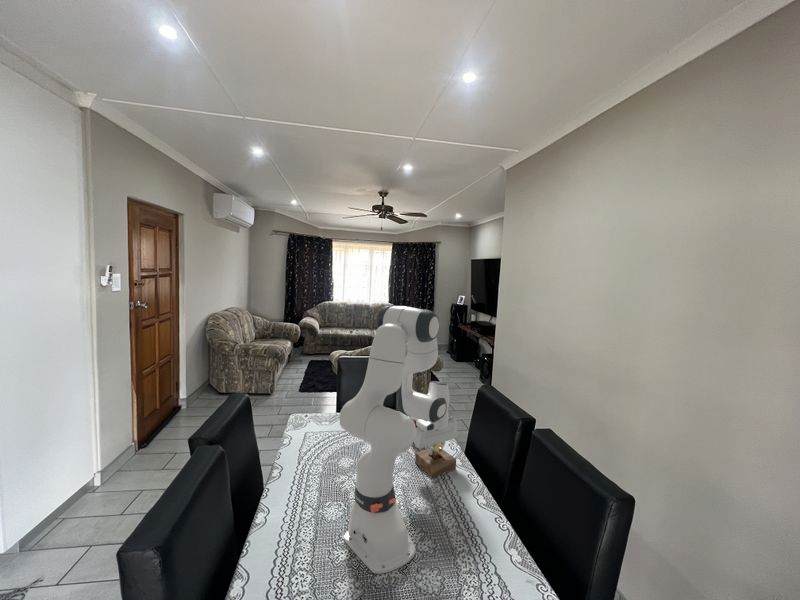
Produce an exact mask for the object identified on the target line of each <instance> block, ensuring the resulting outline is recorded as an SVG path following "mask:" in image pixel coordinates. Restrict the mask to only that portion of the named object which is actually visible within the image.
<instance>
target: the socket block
mask: <svg viewBox="0 0 800 600" xmlns="http://www.w3.org/2000/svg"><path fill="white" fill-rule="evenodd" d="M414 456H415V458H414V460H415V461H414V462H415V463H416V464H417V465H418V466H419V467H420V468H421V469H423V470H424V471H425V473H427V474H428V475H429V476H430V477H431V478H434V477H437V476H440V475H443V474H446V473H448V472H450V471H453V470H456V469H457V458H455V457H454V456H452V455H451V454H450V453H449V452H447V451H446V450H444V449H443V451H442V452H439V459H437V460H434V459H432V455H430V454H429V449H428V448H427V449H424V450H421V451H417V452H415V455H414Z"/></svg>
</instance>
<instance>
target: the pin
mask: <svg viewBox="0 0 800 600" xmlns="http://www.w3.org/2000/svg"><path fill="white" fill-rule="evenodd" d="M431 448H432V449H433V450H434V454H432V459H434V460H437V459H439V449H440V443H438V444H434V445H433V447H431Z"/></svg>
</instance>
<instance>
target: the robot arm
mask: <svg viewBox="0 0 800 600" xmlns="http://www.w3.org/2000/svg"><path fill="white" fill-rule="evenodd" d="M375 325H376V331H375V334H374V337H373V339H372V343H371V347H370V351H369V356H368V362H367V368H366V371H365V377H364V380H363V384H362V386H361V387H360V389H359V391H358V393H357V394H356V395H355V396H353V398H352V399H350V400H348V401H347V402H346V403H345V404H344V405H343V406H342V408H341V409H340V412H339V418H338V419H339V421H338V422H339V425H340V428H341V429H343V430H344V431H345V432H347V433H348V434H349V435H351V436H352V437H354V438H357V439H359V440H362V441H364V442H367V443H368V444H370V450H368V451H366V452H364V453H363V454H361V455H360V457H359V459H357V462H356V483H354V484H355V486H354V490H353V491H354V492H353V493H354V496H353V497H354V501H353V504H352V506H351V509H350V511H349V519H348V530H347V531H346V532H345V534H344V535H343V536H344V538H343V540H344V542H345V543H346V545H347V546H348V547H349V548H350V549H351V550H352V552H354V553H355V555H356V556H357V557H358V558H359V559H360V560H361V562H363V564H364V565H365V566H366V567H367V568H368V570H370V571H371V572H372V573H373V574H385V573H386V574H387V573H390V572H392V571H395V570H397V569H399V568H401V567H403V566H405V565H406V564H407V563H409V562H410V561H411V560H412V559H413V558H414V557H415V555H416V552H417V550H416V546H415V545H414V542H413V540H412V538H411V536H410V534H409V532H408V528H407V526H406V524H408V517H407V515H406V514H402V513H401V510H400V508H401V506H400V503H397V499H398V498H397V497H396V489H395V485H394V481H393V480H394V469H395V462H396V460H397V458H398V456H400V455H401V454H403V453H405V452H406V451H408V450H409V449H410V448H411V447H412V446H413V445H415V446H416V447H417V448H418V449H420V450H421V449H424V448H427V449H429V454H430V455H432V454H434V450H433V449H432V447H433V445H434V444H438V443H440V449H439V452H442V451H443V450H444V446H445V445H446V442H448V441H451V440H455V439H457V437H458V424H457V422H458V421H457V417H456V416H454V415H451V416H449V409H448V408H449V406H450V391H449V385H448V384H447V383H445V382H442V381H437V380H431V381H430V382H429V384H428V389H427V394H425V393H422V392H418V391H416V390H414V389H413V381H414V380H413V377H414V374H415V373H416V374H417V373H421V372H422V373H423V372H425V371H428V370H430V369H431V368H433V367H434V366H435V365H436V363H437V361H438V359H439V357H438V356H439V348H438V347H439V345H438V339H437V337H438V334H439V331H440V319H439V317H438V315H437V314H436V313H435V312H434V311H433V310H430V309H423V308H417V307H412V306H409V305H408V306H406V305H394V304H393V305H385V306H383V307H381V308H380V310H379V311H378V312H377V315H376V317H375ZM397 391H398V396H397V400H396V408H397V409H398V410H396V409H392V408H390V407H386V406H384V402H385V399H386V397H387V396H389V395H392V394H394V393H396V392H397ZM410 417H414V418H417V419H418V420H417V421H416V425H417V426H418V427H417V428H416V427H415V423H414V421H413V420H412V419H411V418H410Z"/></svg>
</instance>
